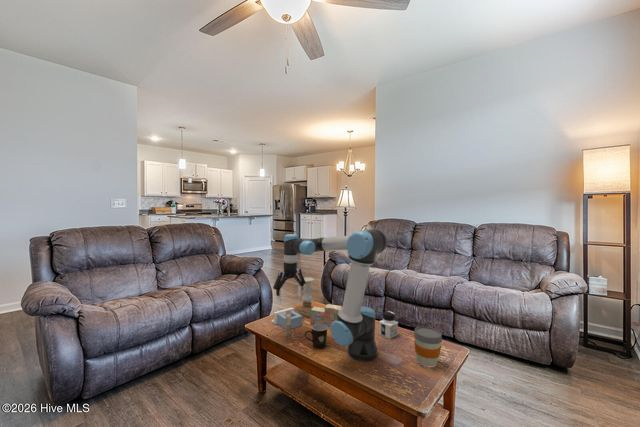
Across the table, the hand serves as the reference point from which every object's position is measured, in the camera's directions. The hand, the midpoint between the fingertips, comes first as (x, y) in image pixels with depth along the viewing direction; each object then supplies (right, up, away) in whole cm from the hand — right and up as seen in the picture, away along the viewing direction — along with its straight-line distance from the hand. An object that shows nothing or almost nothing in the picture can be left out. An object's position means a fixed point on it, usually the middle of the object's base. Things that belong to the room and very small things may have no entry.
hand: (289, 299), depth 159 cm
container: (+57, -22, +4) cm, 61 cm away
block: (-1, -20, +15) cm, 25 cm away
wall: (-7, -20, +21) cm, 30 cm away
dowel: (-1, -21, 0) cm, 21 cm away
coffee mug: (+15, -22, -10) cm, 28 cm away
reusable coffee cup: (+69, -24, -24) cm, 76 cm away
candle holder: (+8, -20, +33) cm, 39 cm away
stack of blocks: (+22, -21, +15) cm, 34 cm away
